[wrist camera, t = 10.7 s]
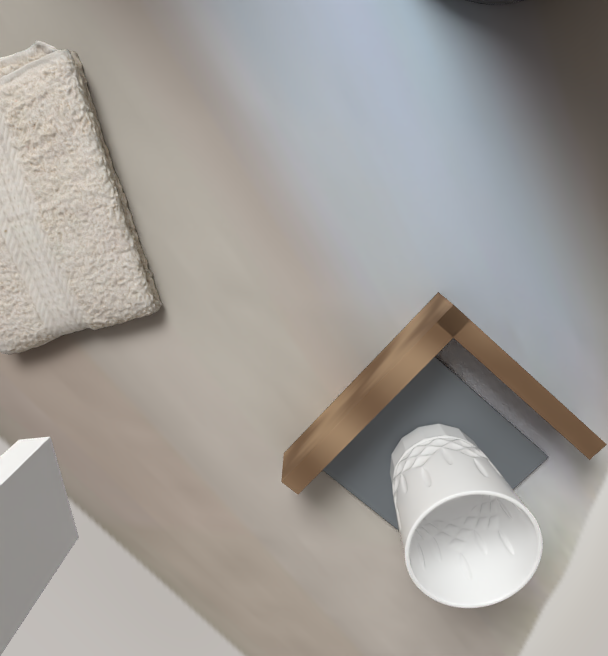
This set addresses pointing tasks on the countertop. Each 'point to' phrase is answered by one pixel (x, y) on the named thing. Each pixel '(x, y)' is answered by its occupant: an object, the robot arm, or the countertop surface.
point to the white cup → (460, 520)
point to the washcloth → (61, 209)
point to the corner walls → (399, 369)
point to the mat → (421, 410)
